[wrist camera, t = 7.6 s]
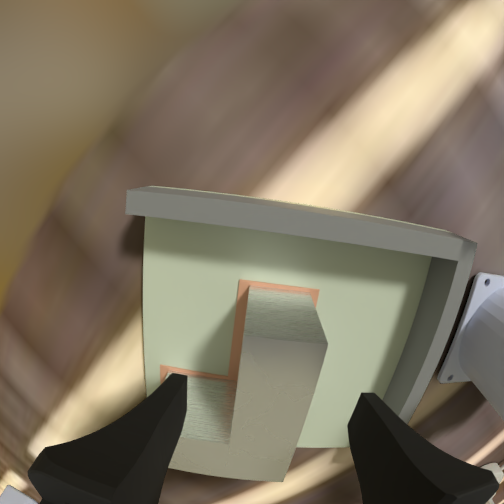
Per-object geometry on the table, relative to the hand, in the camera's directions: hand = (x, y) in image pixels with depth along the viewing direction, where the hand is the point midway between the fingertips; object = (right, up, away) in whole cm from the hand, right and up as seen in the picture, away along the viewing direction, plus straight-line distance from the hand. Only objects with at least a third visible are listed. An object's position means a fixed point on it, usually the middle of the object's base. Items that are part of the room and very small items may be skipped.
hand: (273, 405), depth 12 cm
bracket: (-2, 0, +5) cm, 5 cm away
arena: (+1, +1, +5) cm, 6 cm away
